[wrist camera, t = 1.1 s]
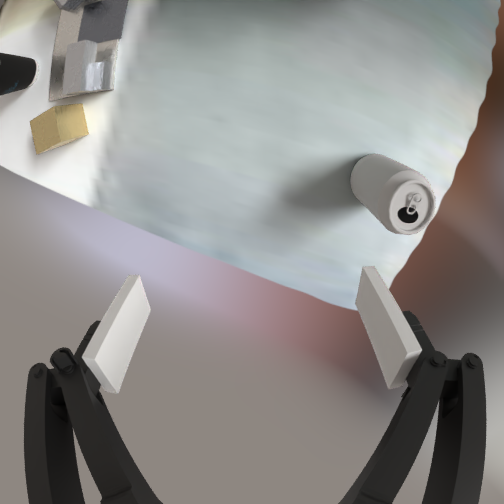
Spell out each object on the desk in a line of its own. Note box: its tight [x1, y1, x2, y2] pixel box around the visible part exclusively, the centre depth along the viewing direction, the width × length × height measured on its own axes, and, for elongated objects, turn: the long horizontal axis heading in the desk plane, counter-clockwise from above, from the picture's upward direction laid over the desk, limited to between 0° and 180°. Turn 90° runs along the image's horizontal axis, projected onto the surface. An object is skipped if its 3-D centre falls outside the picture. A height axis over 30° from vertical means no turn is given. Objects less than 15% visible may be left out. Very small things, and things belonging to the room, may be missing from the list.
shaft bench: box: [49, 0, 128, 101], centre depth 21 cm, size 23×14×6 cm, turn 174°
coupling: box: [30, 104, 89, 154], centre depth 28 cm, size 5×5×7 cm
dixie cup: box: [0, 53, 39, 95], centre depth 21 cm, size 8×8×11 cm
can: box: [350, 154, 435, 235], centre depth 30 cm, size 8×8×12 cm
